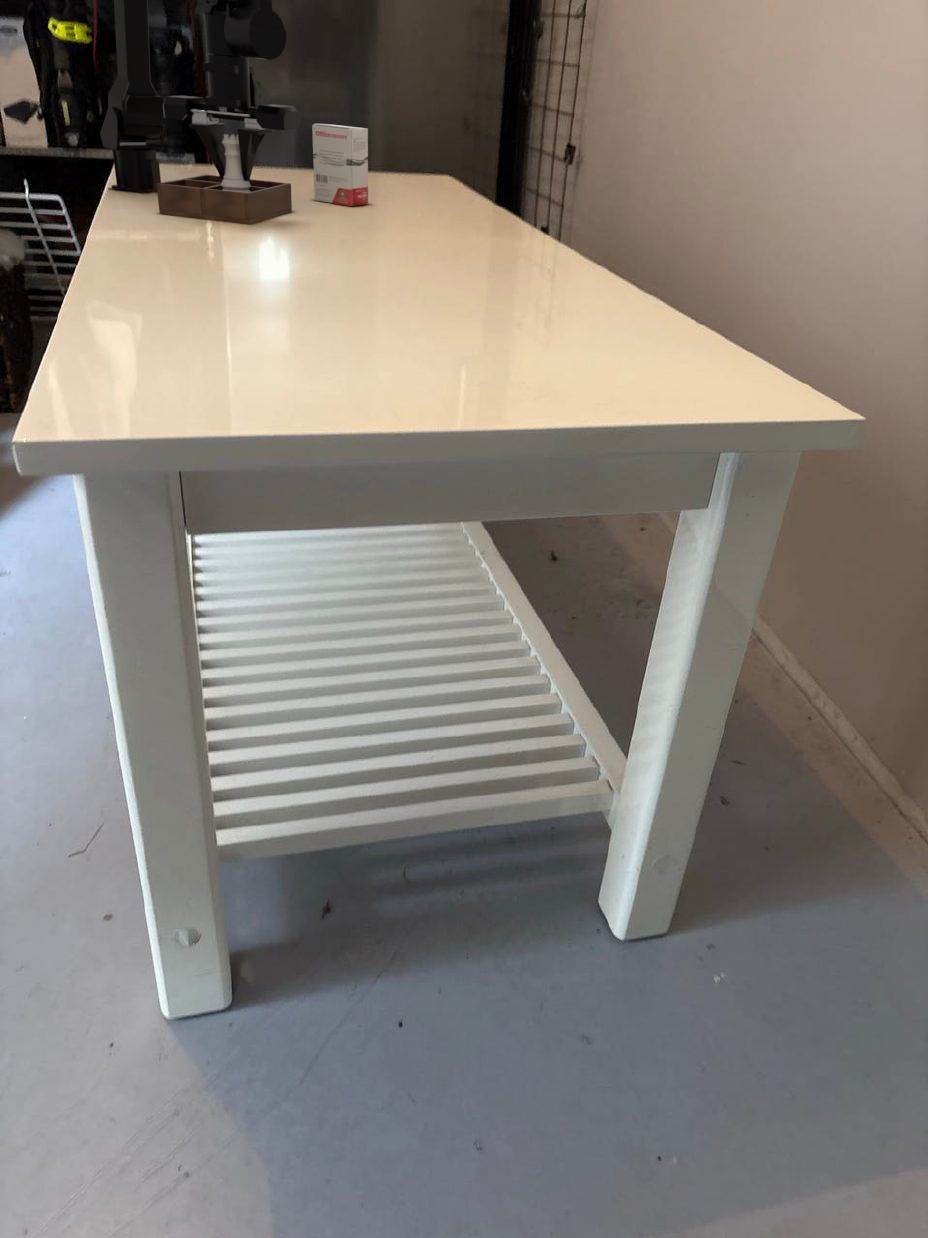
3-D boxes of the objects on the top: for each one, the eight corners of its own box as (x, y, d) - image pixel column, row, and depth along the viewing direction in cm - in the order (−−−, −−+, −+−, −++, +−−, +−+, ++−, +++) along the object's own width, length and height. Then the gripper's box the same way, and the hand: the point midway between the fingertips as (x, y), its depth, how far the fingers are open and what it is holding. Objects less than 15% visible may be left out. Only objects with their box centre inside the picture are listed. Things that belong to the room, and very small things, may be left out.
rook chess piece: (248, 198, 133) (244, 137, 128) (217, 196, 133) (213, 134, 128) (254, 194, 136) (251, 134, 132) (225, 192, 136) (220, 132, 132)
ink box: (369, 204, 156) (370, 127, 150) (352, 206, 152) (351, 127, 146) (330, 197, 160) (329, 122, 153) (312, 200, 156) (310, 122, 150)
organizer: (159, 213, 135) (156, 183, 133) (208, 201, 147) (206, 174, 145) (249, 224, 132) (248, 193, 130) (292, 211, 144) (291, 183, 142)
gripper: (313, 60, 130) (315, 180, 138) (195, 51, 133) (205, 168, 142) (280, 60, 121) (284, 188, 129) (154, 49, 124) (167, 174, 133)
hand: (235, 179), depth 133 cm, fingers closed on rook chess piece, 3 cm apart
